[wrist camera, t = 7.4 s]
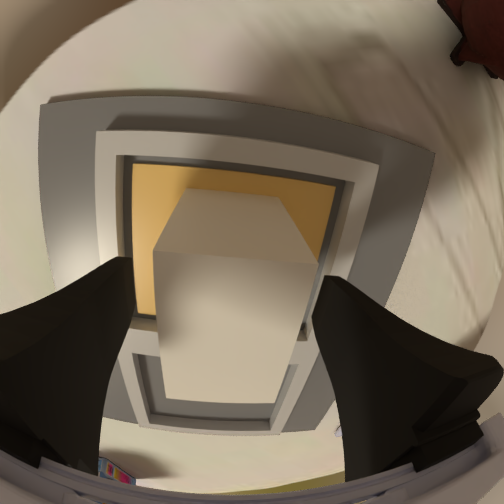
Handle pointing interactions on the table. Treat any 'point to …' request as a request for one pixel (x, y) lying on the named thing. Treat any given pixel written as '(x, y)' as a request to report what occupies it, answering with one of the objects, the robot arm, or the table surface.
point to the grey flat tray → (232, 180)
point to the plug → (229, 296)
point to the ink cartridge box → (112, 473)
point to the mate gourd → (478, 33)
